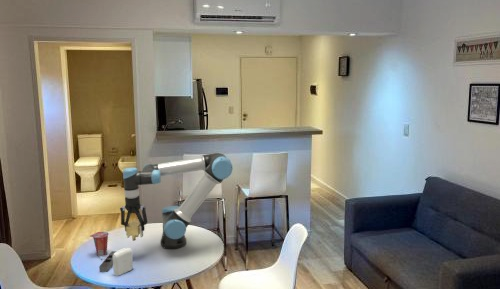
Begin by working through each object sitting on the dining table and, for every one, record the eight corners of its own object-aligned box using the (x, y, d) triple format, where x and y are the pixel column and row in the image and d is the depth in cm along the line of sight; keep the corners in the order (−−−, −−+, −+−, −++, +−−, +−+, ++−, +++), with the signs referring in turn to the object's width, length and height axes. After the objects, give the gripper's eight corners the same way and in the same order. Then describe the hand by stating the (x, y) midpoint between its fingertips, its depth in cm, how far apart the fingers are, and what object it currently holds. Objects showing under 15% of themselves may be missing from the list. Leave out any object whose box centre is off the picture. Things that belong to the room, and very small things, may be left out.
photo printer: (117, 276, 206) (115, 254, 204) (112, 274, 209) (110, 251, 206) (134, 269, 214) (133, 247, 211) (129, 266, 216) (128, 245, 214)
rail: (112, 256, 229) (111, 251, 228) (119, 256, 229) (118, 251, 228) (99, 272, 211) (99, 266, 210) (107, 272, 211) (106, 266, 210)
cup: (105, 249, 237) (104, 230, 235) (112, 254, 231) (111, 234, 229) (89, 254, 231) (88, 234, 228) (96, 259, 225) (94, 239, 223)
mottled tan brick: (143, 234, 229) (142, 220, 227) (139, 241, 220) (137, 226, 218) (132, 235, 229) (131, 220, 227) (127, 241, 220) (125, 226, 218)
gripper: (151, 193, 223) (154, 233, 228) (116, 194, 224) (120, 234, 228) (148, 198, 216) (151, 239, 220) (111, 198, 217) (115, 239, 221)
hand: (135, 236), depth 224 cm, fingers closed on mottled tan brick, 6 cm apart
